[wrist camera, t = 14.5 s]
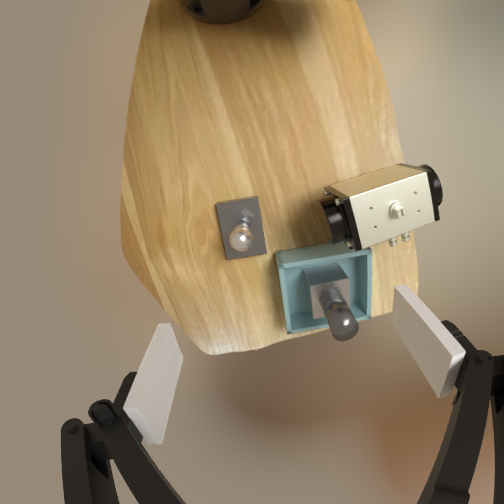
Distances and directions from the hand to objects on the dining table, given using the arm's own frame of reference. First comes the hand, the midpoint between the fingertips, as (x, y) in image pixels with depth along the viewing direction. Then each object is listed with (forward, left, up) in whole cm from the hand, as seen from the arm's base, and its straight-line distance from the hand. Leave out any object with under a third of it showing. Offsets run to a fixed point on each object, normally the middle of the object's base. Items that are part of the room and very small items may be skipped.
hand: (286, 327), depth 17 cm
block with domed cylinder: (+17, +9, -36) cm, 41 cm away
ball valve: (+1, +17, -37) cm, 41 cm away
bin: (+17, +9, -37) cm, 41 cm away
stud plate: (+4, -4, -37) cm, 37 cm away
